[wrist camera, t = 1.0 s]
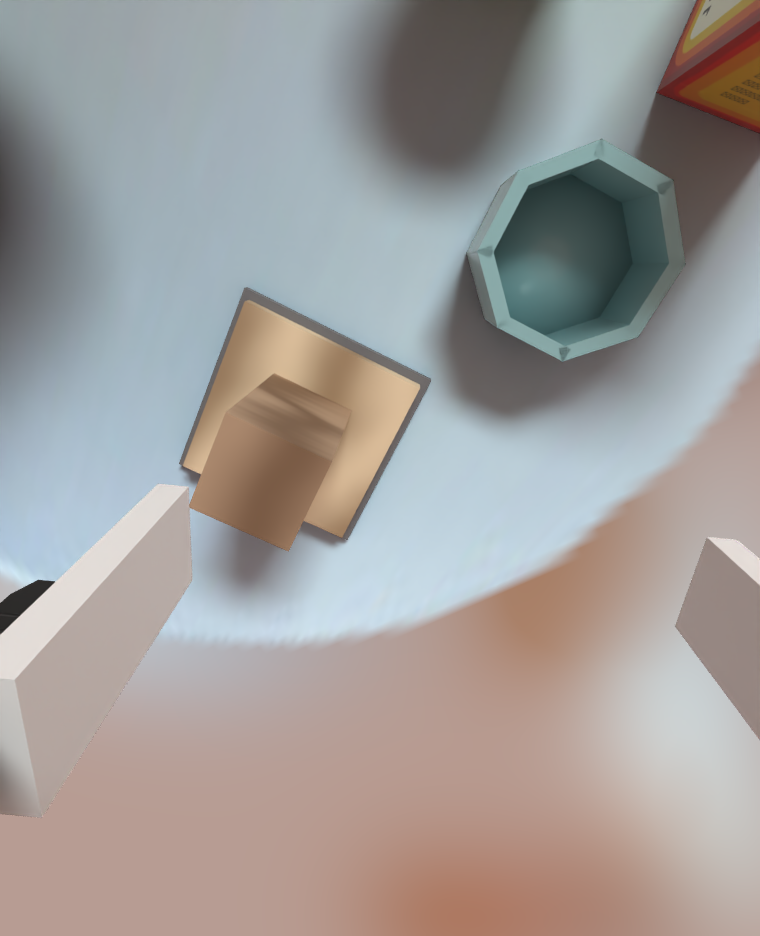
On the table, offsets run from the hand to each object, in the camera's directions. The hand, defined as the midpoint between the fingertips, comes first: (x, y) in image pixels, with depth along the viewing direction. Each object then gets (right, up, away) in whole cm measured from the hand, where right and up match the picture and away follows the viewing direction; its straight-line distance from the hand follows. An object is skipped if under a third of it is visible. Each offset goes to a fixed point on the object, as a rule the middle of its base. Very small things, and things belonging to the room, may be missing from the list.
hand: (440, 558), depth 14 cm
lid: (-7, +5, +20) cm, 21 cm away
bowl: (+8, +14, +16) cm, 23 cm away
